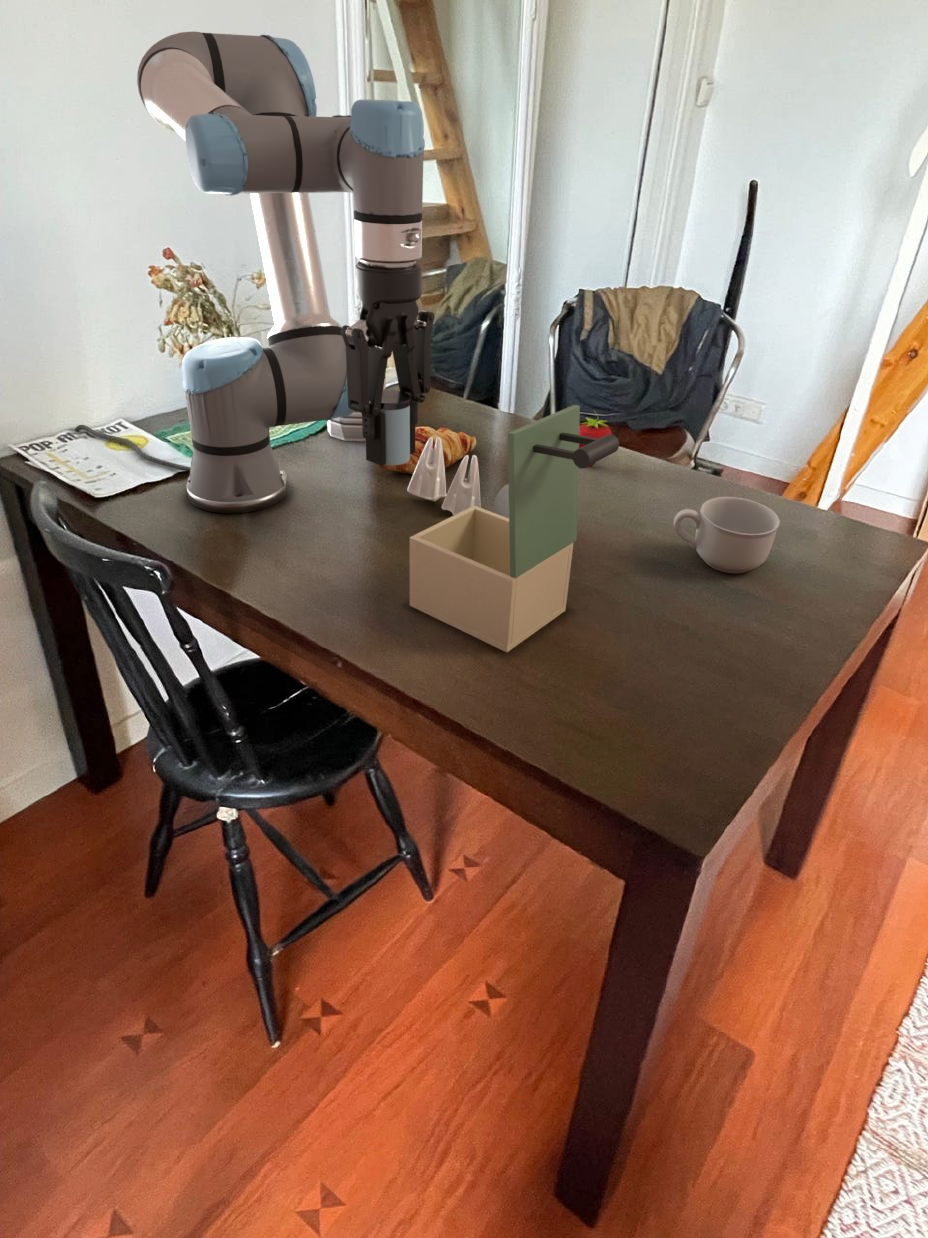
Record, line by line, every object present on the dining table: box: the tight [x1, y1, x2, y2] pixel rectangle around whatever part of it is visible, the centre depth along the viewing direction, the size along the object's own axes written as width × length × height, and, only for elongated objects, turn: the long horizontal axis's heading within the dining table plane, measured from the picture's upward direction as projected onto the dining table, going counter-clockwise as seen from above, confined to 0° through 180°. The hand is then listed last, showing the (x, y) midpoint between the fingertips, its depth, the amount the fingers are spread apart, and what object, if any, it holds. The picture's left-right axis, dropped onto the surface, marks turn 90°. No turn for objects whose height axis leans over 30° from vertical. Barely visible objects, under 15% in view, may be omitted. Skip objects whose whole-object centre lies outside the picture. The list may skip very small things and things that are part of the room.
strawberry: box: [579, 410, 613, 467], centre depth 145 cm, size 6×8×10 cm
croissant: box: [378, 426, 477, 475], centre depth 144 cm, size 21×10×8 cm, turn 131°
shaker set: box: [407, 437, 482, 516], centre depth 128 cm, size 12×4×11 cm, turn 57°
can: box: [326, 374, 387, 442], centre depth 155 cm, size 11×11×12 cm
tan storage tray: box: [409, 506, 575, 653], centre depth 103 cm, size 16×13×10 cm
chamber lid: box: [507, 404, 620, 578], centre depth 90 cm, size 16×13×8 cm
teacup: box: [672, 496, 781, 574], centre depth 117 cm, size 14×11×8 cm
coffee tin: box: [370, 390, 411, 465], centre depth 104 cm, size 5×5×8 cm
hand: (391, 455), depth 106 cm, fingers closed on coffee tin, 5 cm apart
